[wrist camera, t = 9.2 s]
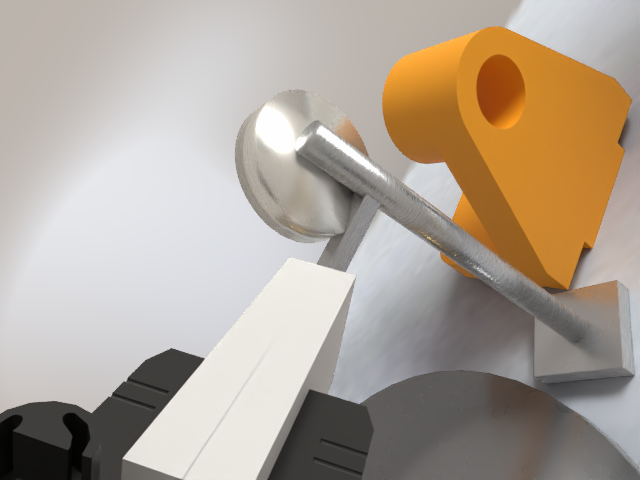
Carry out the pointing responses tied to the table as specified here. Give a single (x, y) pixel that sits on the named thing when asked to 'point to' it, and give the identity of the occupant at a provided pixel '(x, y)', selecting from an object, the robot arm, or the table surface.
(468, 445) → the turntable
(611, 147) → the bracket
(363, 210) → the stand
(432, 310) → the table surface
